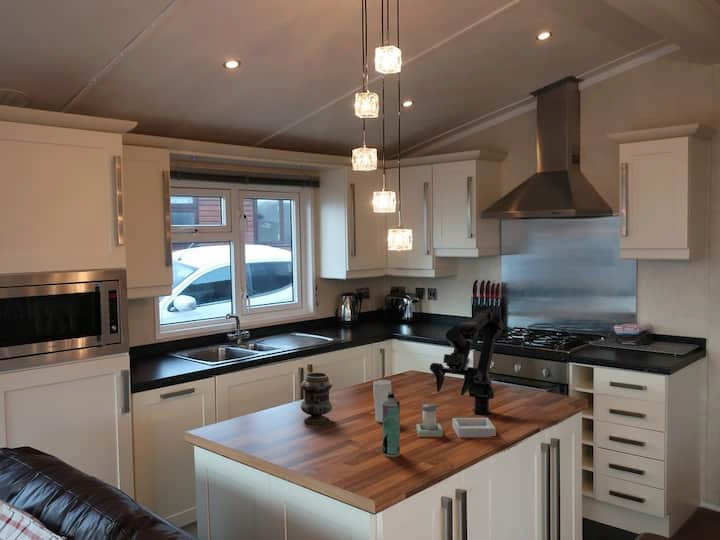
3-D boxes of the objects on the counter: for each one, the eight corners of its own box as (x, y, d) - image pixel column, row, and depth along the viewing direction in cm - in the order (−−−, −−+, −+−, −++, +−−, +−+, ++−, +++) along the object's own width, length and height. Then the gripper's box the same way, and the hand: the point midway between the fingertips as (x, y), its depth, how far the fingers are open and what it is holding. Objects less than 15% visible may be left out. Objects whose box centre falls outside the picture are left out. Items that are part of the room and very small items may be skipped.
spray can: (398, 451, 204) (398, 390, 203) (400, 457, 199) (400, 395, 198) (382, 451, 204) (382, 391, 203) (383, 457, 199) (383, 395, 197)
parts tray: (452, 426, 230) (452, 418, 230) (487, 425, 231) (487, 417, 230) (458, 437, 217) (458, 429, 217) (495, 437, 218) (495, 428, 217)
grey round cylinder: (421, 430, 225) (421, 403, 225) (435, 430, 225) (435, 403, 225) (423, 435, 220) (423, 407, 220) (437, 435, 220) (437, 407, 220)
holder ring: (416, 429, 227) (416, 423, 227) (439, 429, 227) (439, 423, 227) (418, 436, 218) (418, 431, 218) (443, 436, 218) (443, 431, 218)
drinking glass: (370, 419, 239) (370, 380, 238) (387, 417, 242) (386, 379, 241) (377, 424, 233) (377, 384, 232) (394, 422, 235) (394, 383, 235)
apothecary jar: (328, 426, 231) (327, 378, 230) (296, 424, 233) (296, 377, 232) (335, 417, 243) (335, 371, 242) (306, 415, 245) (305, 370, 244)
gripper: (430, 341, 230) (417, 380, 222) (477, 346, 219) (466, 387, 212) (440, 355, 237) (429, 393, 230) (487, 361, 227) (476, 400, 220)
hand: (449, 393), depth 223 cm, fingers open, 9 cm apart
